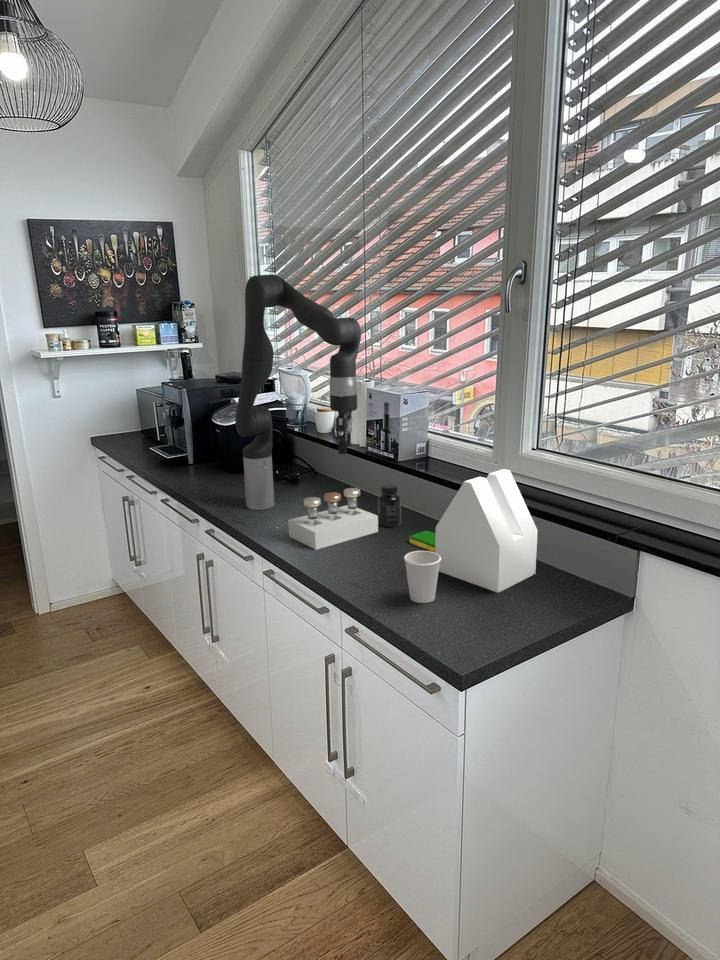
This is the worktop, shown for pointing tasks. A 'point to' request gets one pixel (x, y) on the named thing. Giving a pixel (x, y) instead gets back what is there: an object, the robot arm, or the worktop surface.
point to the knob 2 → (352, 497)
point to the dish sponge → (424, 540)
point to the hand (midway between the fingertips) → (344, 450)
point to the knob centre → (332, 502)
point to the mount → (333, 527)
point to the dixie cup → (422, 575)
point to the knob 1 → (312, 506)
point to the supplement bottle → (389, 506)
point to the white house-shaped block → (488, 534)
